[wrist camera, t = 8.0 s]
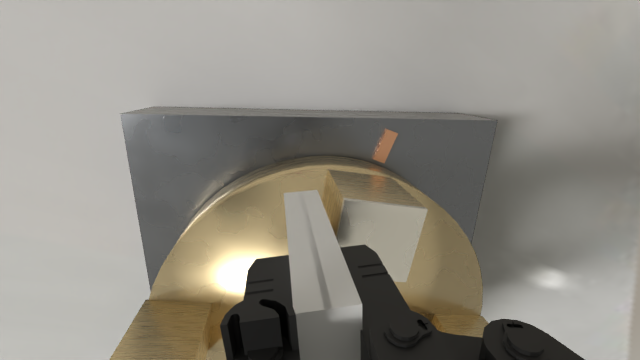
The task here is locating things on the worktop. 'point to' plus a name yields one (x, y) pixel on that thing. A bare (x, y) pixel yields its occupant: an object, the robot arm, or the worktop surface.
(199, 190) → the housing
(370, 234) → the ring nut
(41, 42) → the worktop surface
